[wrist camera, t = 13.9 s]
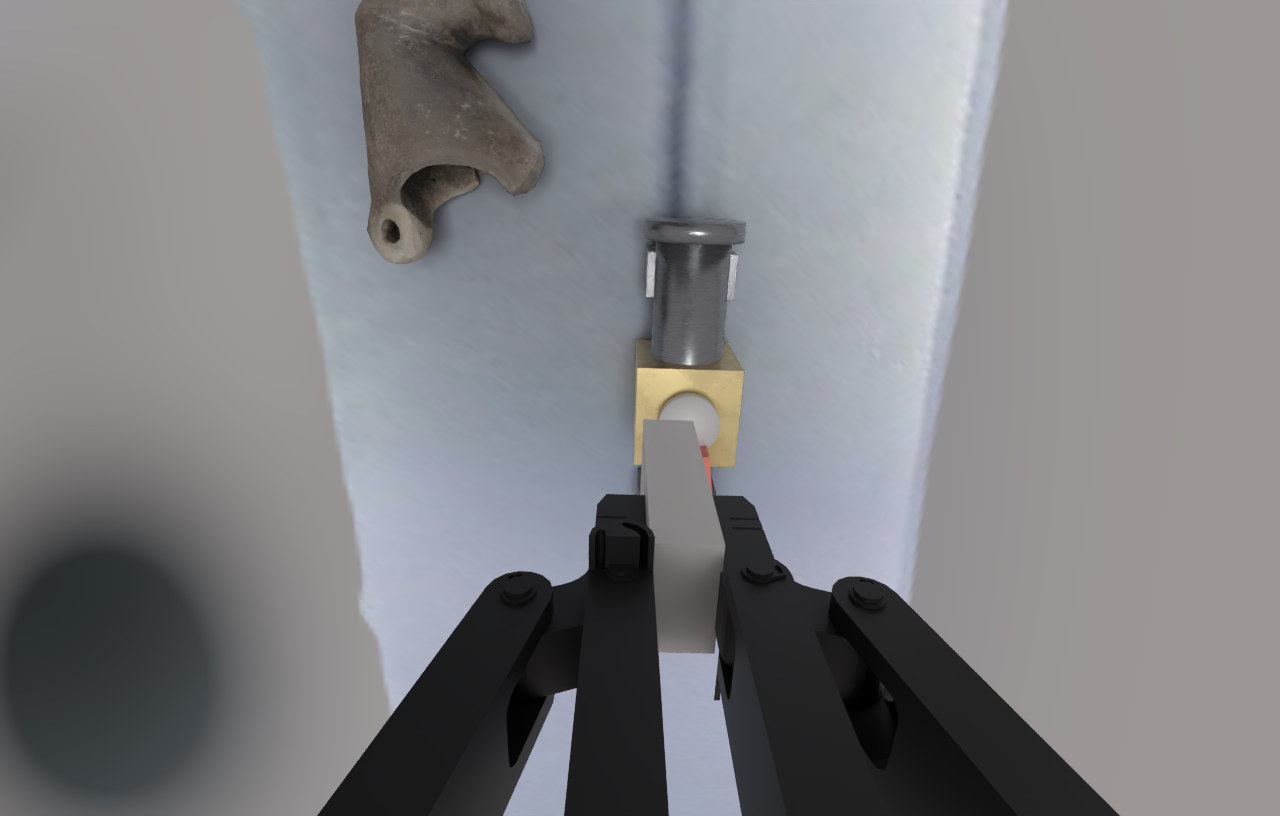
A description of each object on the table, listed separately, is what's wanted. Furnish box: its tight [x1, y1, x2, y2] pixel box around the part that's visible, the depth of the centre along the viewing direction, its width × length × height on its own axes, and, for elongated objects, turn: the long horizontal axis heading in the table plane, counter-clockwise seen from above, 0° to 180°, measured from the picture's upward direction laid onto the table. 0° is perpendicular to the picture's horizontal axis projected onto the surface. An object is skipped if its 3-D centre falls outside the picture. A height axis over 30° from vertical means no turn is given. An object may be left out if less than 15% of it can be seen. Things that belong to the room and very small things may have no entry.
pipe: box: [355, 0, 545, 264], centre depth 38 cm, size 16×9×15 cm
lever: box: [658, 393, 720, 492], centre depth 41 cm, size 16×4×3 cm, turn 6°
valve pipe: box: [633, 217, 746, 495], centre depth 44 cm, size 25×7×8 cm, turn 178°
